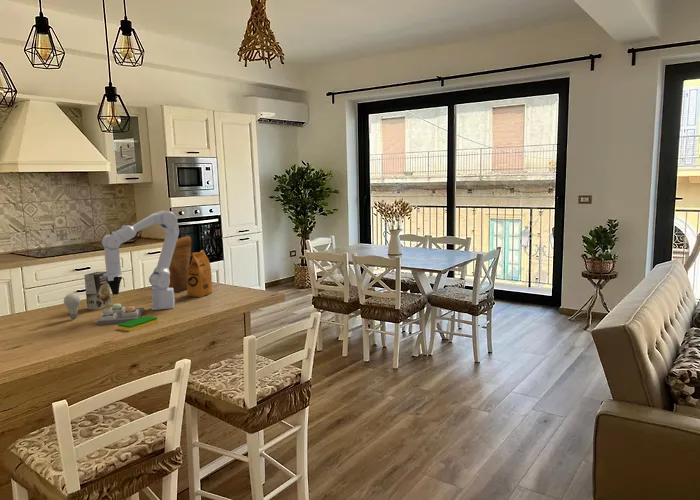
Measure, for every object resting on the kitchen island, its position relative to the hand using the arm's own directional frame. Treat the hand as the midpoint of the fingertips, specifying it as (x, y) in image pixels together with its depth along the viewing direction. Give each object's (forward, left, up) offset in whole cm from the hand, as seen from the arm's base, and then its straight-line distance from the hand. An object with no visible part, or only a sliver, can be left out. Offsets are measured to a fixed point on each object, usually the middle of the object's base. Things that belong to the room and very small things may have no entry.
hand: (115, 294), depth 217 cm
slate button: (+2, +10, -7) cm, 12 cm away
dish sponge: (-11, +19, -10) cm, 24 cm away
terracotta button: (-6, +7, -7) cm, 11 cm away
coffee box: (+11, -19, -10) cm, 24 cm away
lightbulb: (+17, 0, -10) cm, 20 cm away
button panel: (-2, +4, -9) cm, 11 cm away
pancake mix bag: (-23, -44, -10) cm, 50 cm away
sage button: (0, 0, -7) cm, 7 cm away
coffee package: (-33, -31, -10) cm, 46 cm away
